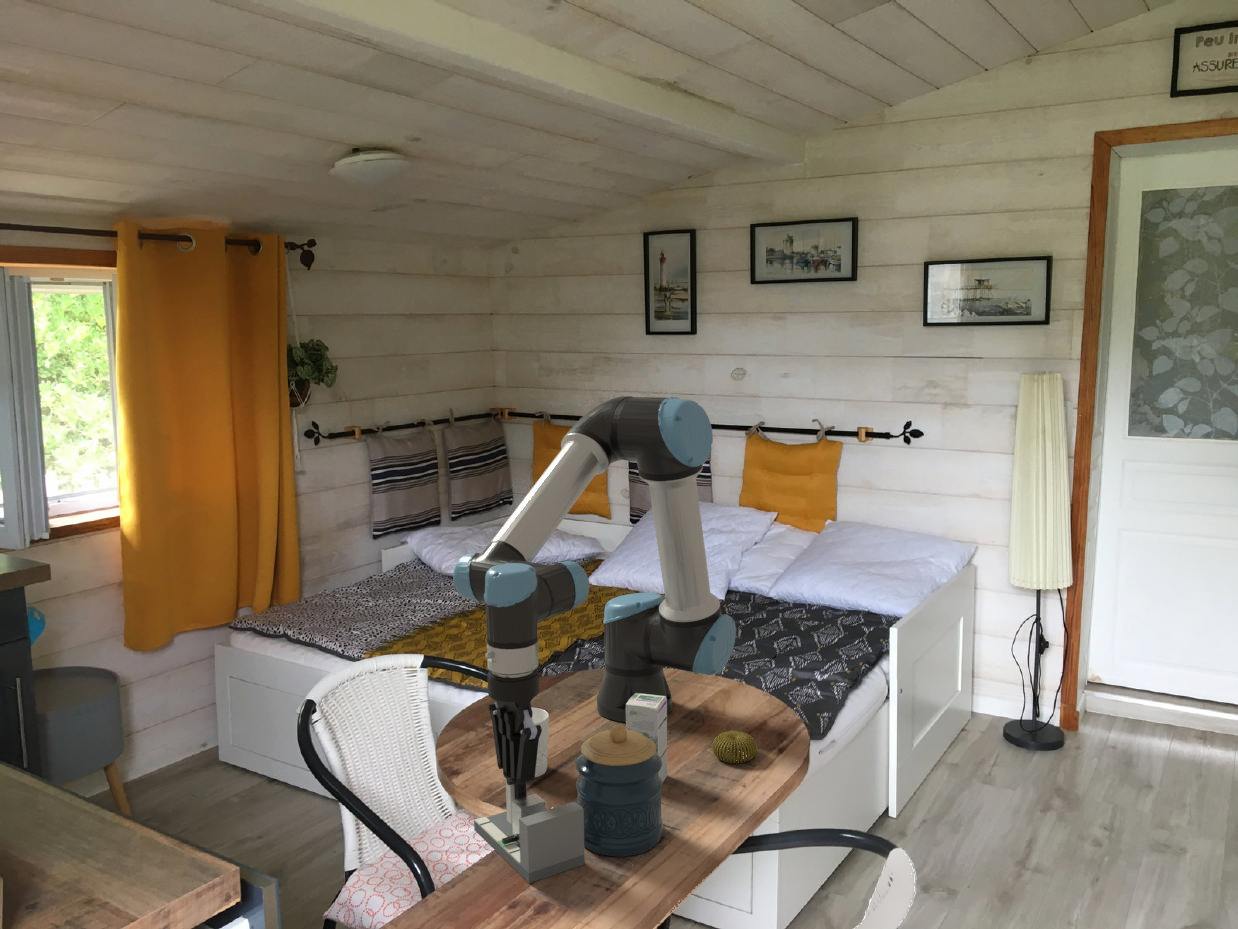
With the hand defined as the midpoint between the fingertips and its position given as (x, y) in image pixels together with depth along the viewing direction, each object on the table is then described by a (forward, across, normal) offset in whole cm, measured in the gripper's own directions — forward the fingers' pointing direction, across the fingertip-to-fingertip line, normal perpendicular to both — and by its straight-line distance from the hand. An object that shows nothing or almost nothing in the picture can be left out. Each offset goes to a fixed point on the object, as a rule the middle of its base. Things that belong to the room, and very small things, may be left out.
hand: (517, 819), depth 154 cm
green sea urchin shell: (+3, -4, +45) cm, 45 cm away
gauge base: (+3, +3, 0) cm, 4 cm away
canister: (+3, +8, +13) cm, 16 cm away
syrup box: (+3, -5, +27) cm, 28 cm away
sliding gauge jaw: (+1, +4, -1) cm, 4 cm away
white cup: (+3, -20, +12) cm, 24 cm away
